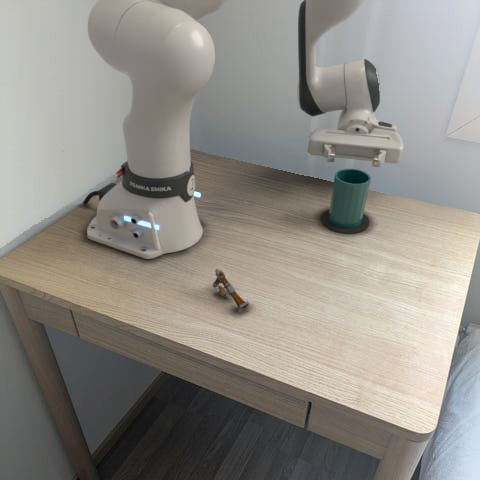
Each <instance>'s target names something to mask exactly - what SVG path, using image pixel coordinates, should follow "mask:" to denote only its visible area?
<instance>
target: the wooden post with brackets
mask: <svg viewBox="0 0 480 480" xmlns="http://www.w3.org/2000/svg"><path fill="white" fill-rule="evenodd" d="M214 272H215V274H214V276H216V278H215V280H214V281H213V283H212V287H213V288H214V289H216V288H217V290H218V294H220V295H221V298H224V299H227V298H228V297H229V296H231V298H232V299H233V301H234V303H235V305H236V307H237V313H240V312H242V311H244V310H246V309H247V308H248V306H249V305H250V302H249V301H245V300H244V299H243V298H242V297H241V296H240V295H239V294H238V293H237V292H236V289H235V288H234V286H233V284H232V283H231V282H229V281H228V279H227V278H226V274H225V273H224V271H223V270H222V269H218V268H216V269H215V271H214ZM220 284H222V285H223V287H222V285H220Z"/></svg>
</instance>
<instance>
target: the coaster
mask: <svg viewBox="0 0 480 480" xmlns="http://www.w3.org/2000/svg"><path fill="white" fill-rule="evenodd" d="M329 210H330V208H328V209H325V211H323V212H322V213H321V215H320V222H321V224H322V225H323V226H324V227H325V228H327V229H328V230H330V231H333V232H335V233H339V234H345V235H346V234H347V235H350V234H351V235H353V234H359V233H362V232H364V231H366V230H367V229H368V228H369V227H370V224H371V223H370V222H371V221H370V218H369V217H368V216H367V215H366V214H365V213H363V218H362V222H361V224H360V225H359V226H357V227H354V228H342V227H338V226H336V225H334V224H332V223H331V222H330V221H329Z"/></svg>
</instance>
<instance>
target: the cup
mask: <svg viewBox="0 0 480 480" xmlns="http://www.w3.org/2000/svg"><path fill="white" fill-rule="evenodd" d="M371 179H372V176H371V175H370V174H369V173H368V172H366V171H364V170H361V169H357V168H343V169H339V170H337V171H336V172H335V174H334V178H333V184H332V185H333V186H332V191H331V198H330V205H329V209H330V210H329V221H330V222H331V223H332V224H334V225H336V226H338V227H342V228H354V227H357V226H359V225H360V224H361V222H362V218H363V214H365V208H366V204H367V198H368V194H369V189H370V184H371Z"/></svg>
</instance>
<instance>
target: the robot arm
mask: <svg viewBox="0 0 480 480" xmlns="http://www.w3.org/2000/svg"><path fill="white" fill-rule="evenodd" d="M227 1H228V0H98V1H97V2H95V3H94V5H93V6H92V8H91V10H90V12H89V15H88V18H87V35H88V38H89V41H90V44H91V46H92V47H93V49H94V51H95V52H96V53H97V54H98V55H99V56H100V57H101V59H102V60H103V61H104V62H105V63H106V64H107V65H108V66H109V67H111V68H112V69H114V70H116V71H118V72H120V73H121V74H124V75H126V76H128V77H129V80H130V82H131V86H132V87H131V88H132V89H131V90H132V94H131V95H132V96H131V105H130V109H129V111H128V112H127V113H126V114H125V116H124V118H123V121H122V131H123V138H124V146H125V152H126V161H125V162H124V163H122V164H121V165H120V168H119V169H118V170H117V171H116V172H115V175H116V179H120V177H122V179H121V181H119V182H118V183H115V182H111V183H109V184H107V185H105V186H104V187H102V188H100V189H99V190H94V191H92V192H89V193H88V194H87V195H86V197H85V198H84V200H83V202H82V204H83V205H85V206H86V205H88V204H89V202H90V201H91V200H92V198H93V197H95V196H98V200H99V202H98V204H97V207H96V215H95V216H94V217H93V219H92V220H91V221H90V222H89V224H88V226H87V228H86V237H87V239H89V240H90V241H93V242H96V243H98V244H101V245H105V246H108V247H111V248H113V249H116V250H119V251H122V252H125V253H128V254H130V255H133V256H136V257H139V258H141V259H145V260H152V259H155V258H157V257H160V256H162V255H165V254H171V253H177V252H180V251H183V250H186V249H189V248H191V247H192V246H194V245H196V244H197V243H198V242H199V241H200V240H201V239H202V237H203V234H204V228H203V226H202V224H201V220H200V218H199V214H198V211H197V205H196V200H195V197H197V198H201V192H198V191H195V190H196V177H195V171H194V169H195V168H194V163H193V161H192V158H191V132H190V131H191V128H190V127H191V116H192V111H193V106H194V102H195V98H196V97H197V94H198V92H200V91H201V90H202V89H203V88H204V87H205V86H206V85H207V83H208V82H209V80H210V78H211V76H212V74H213V71H214V69H215V68H214V67H215V64H216V63H215V62H216V50H215V49H216V48H215V44H214V40H213V38H212V36H211V34H210V33H209V31H208V30H207V29H206V28H205V27H204V26H203V25H202V24H201V23H200V22H199V21H198V20H200V19H202V18H204V17H205V16H208V15H210V14H213V13H215V12H217V11H218V10H220V9H221V8H223V6H225V4H226V3H227ZM364 1H365V0H303V1H302V2H300V4H299V8H298V16H297V51H298V52H297V53H298V55H297V57H298V82H297V92H296V93H297V102H298V105H299V108H300V110H301V111H302V112H304V113H305V114H307V115H308V116H310V117H317V116H320V115H324V114H327V113H331V112H337V111H340V114H339V117H338V122H337V128H336V129H335V128H324V127H319V128H316V129H314V130H313V131H311V132H309V135H308V138H309V139H308V142H307V143H308V144H307V153H308V154H310V155H311V156H319V157H324V158H325V159H326V162H327V163H334V162H335V158H337V159H346V160H347V159H348V160H358V161H367V162H372V163H371V165H372V167H373V168H375V167H376V168H380V167H381V166H380V165H381V164H383V163H384V164H385V163H386V164H395V165H396V164H399V163H401V161H402V158H403V154H404V148H405V145H404V141H403V137H402V136H401V135H400V134H399V133H398V126H397V125H396V124H392V123H388V122H385V121H381V120H378V119H377V118H376V117H377V116H376V110H377V109H378V108H379V106H380V103H381V90H380V91H379V85H380V82H379V83H378V78H377V74H376V69H377V67H376V66H375V65H374V64H373V63H372V62H371V60H369V59H366V58H363V60H362V59H358V60H352V61H347V62H344V63H339V64H334V65H329V66H324V67H321V66H320V67H319V66H317V44H318V42H319V40H320V39H321V38H322V36H324V35H325V34H326V33H328V32H329V31H330V30H331V29H333V28H335V27H336V26H337V25H339V24H342V23H343V22H345V21H346V20H348V19H349V18H350V17H352V16H353V15H354V14H355V13H356V12H357V11H358V9H360V7H361V6H362V4H363V3H364ZM375 67H376V68H375ZM341 111H342V112H341ZM374 112H375V114H374ZM375 116H376V117H375Z"/></svg>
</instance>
